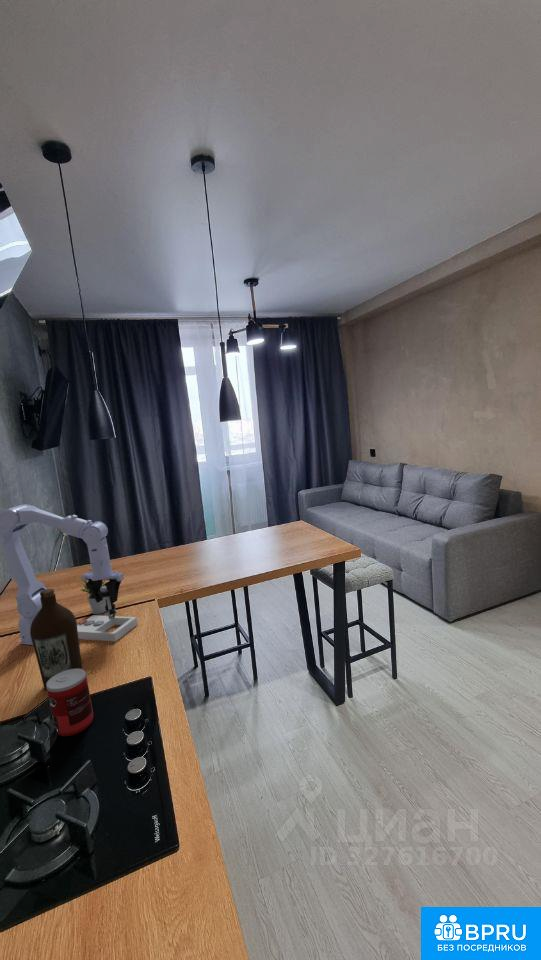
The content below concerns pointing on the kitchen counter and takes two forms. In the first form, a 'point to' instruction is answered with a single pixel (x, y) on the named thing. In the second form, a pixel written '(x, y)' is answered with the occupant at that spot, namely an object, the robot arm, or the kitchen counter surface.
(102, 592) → the push button
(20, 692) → the kitchen counter surface
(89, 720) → the canned food
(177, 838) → the kitchen counter surface
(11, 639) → the kitchen counter surface
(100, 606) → the house plant
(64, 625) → the olive oil
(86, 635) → the control panel
